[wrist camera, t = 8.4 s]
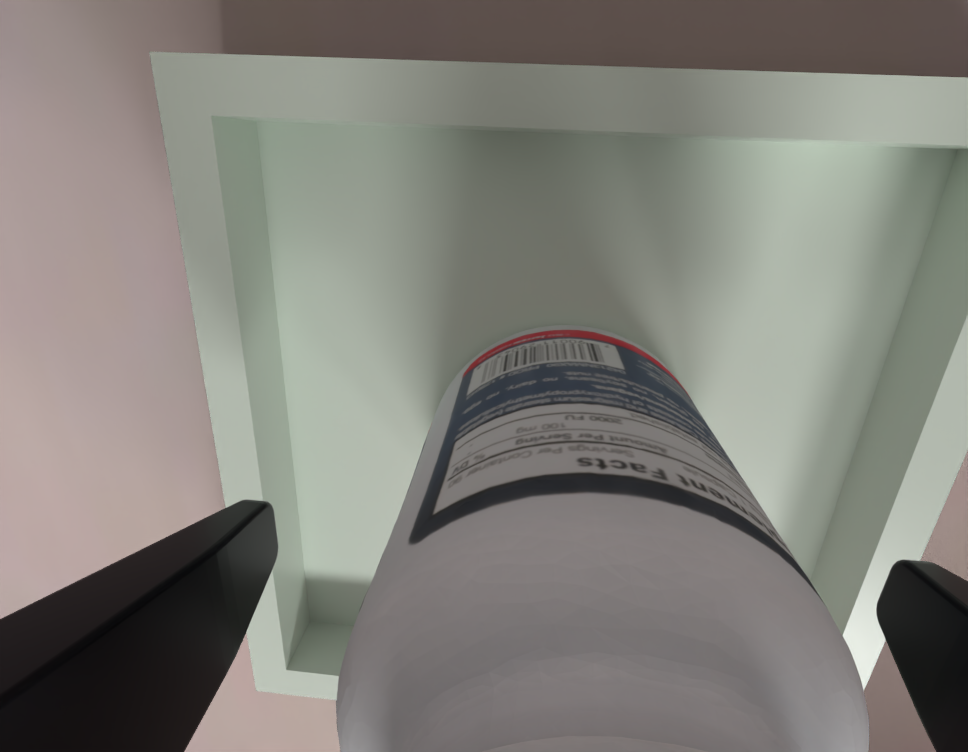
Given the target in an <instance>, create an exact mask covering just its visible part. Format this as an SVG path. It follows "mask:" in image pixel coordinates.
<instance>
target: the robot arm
mask: <svg viewBox="0 0 968 752" xmlns="http://www.w3.org/2000/svg"><path fill="white" fill-rule="evenodd" d="M277 555H278V539H277V531H276V523H275V515H274V509H273V506H272V504H270V503H269V502H267V501H259V500H248V499H245V500H241V501H239V502H237V503H235V504H233V505H231V506H229V507H227V508H225V509H223V510H221V511H219V512H217V513H215V514H213V515H210V516H208V517H206V518H204V519H202V520H200V521H198V522H196V523H194V524H192V525H190V526H188V527H186V528H184V529H182V530H180V531H178V532H176V533H174V534H172V535H170V536H168V537H166V538H164V539H162V540H160V541H158V542H156V543H154V544H152V545H150V546H148V547H146V548H144V549H142V550H140V551H137V552H135V553H133V554H131V555H129V556H127V557H125V558H123V559H121V560H119V561H117V562H115V563H113V564H111V565H109V566H107V567H105V568H103V569H101V570H99V571H97V572H95V573H93V574H91V575H89V576H87V577H85V578H83V579H81V580H79V581H77V582H75V583H73V584H71V585H69V586H67V587H64V588H62V589H60V590H58V591H56V592H54V593H52V594H50V595H48V596H46V597H44V598H42V599H40V600H38V601H36V602H34V603H32V604H30V605H28V606H26V607H24V608H22V609H20V610H18V611H16V612H14V613H12V614H10V615H8V616H6V617H4V618H2V619H0V752H184V751H185V749H186V748H187V746H188V744H189V742H190V740H191V738H192V737H193V735H194V733H195V731H196V729H197V727H198V725H199V724H200V722H201V720H202V718H203V716H204V714H205V713H206V711H207V709H208V707H209V705H210V703H211V702H212V700H213V698H214V696H215V694H216V692H217V691H218V689H219V687H220V685H221V683H222V681H223V680H224V678H225V676H226V674H227V672H228V670H229V668H230V666H231V664H232V662H233V660H234V659H235V657H236V654H237V652H238V650H239V648H240V645H241V643H242V641H243V639H244V636H245V634H246V632H247V629H248V627H249V624H250V622H251V620H252V617H253V615H254V612H255V610H256V608H257V605H258V603H259V600H260V598H261V596H262V593H263V591H264V588H265V586H266V584H267V581H268V579H269V577H270V574H271V572H272V569H273V567H274V565H275V562H276V559H277ZM876 614H877V619H878V622H879V625H880V627H881V630H882V632H883V634H884V637H885V639H886V641H887V644H888V646H889V648H890V651H891V653H892V655H893V657H894V660H895V662H896V664H897V667H898V669H899V671H900V674H901V676H902V678H903V680H904V683H905V685H906V687H907V690H908V692H909V694H910V697H911V699H912V701H913V704H914V706H915V708H916V710H917V713H918V715H919V717H920V719H921V722H922V724H923V726H924V728H925V730H926V732H927V734H928V736H929V738H930V740H931V742H932V744H933V746H934V748H935V750H936V752H968V581H966V580H964V579H962V578H961V577H959V576H957V575H955V574H953V573H951V572H950V571H948V570H946V569H944V568H942V567H940V566H939V565H937V564H934V563H931V562H926V561H916V560H899V561H897V562H896V563H894V564H893V566H892V567H891V570H890V572H889V575H888V577H887V579H886V582H885V584H884V587H883V589H882V592H881V594H880V597H879V599H878V602H877V607H876Z"/></svg>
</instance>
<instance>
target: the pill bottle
mask: <svg viewBox="0 0 968 752" xmlns="http://www.w3.org/2000/svg"><path fill="white" fill-rule="evenodd" d="M336 714H337V730H338V737H339V744H340V750H341V752H868V751H869V717H868V711H867V706H866V701H865V696H864V690H863V686H862V682H861V679H860V676H859V673H858V670H857V667H856V664H855V661H854V659H853V656H852V654H851V651H850V649H849V647H848V645H847V643H846V641H845V639H844V638H843V636H842V634H841V632H840V630H839V629H838V627H837V625H836V623H835V622H834V620H833V618H832V616H831V614H830V612H829V611H828V609H827V607H826V605H825V604H824V602H823V601H822V599H821V598H820V596H819V594H818V593H817V591H816V590H815V588H814V586H813V585H812V583H811V582H810V580H809V579H808V577H807V575H806V574H805V572H804V571H803V570H802V568H801V567H800V565H799V564H798V562H797V561H796V559H795V558H794V556H793V555H792V553H791V552H790V550H789V548H788V546H787V545H786V543H785V542H784V541H783V539H782V538H781V536H780V535H779V534H778V532H777V531H776V529H775V528H774V526H773V524H772V523H771V521H770V520H769V518H768V517H767V515H766V513H765V512H764V510H763V509H762V507H761V506H760V504H759V503H758V501H757V500H756V498H755V497H754V495H753V493H752V492H751V490H750V489H749V487H748V486H747V484H746V483H745V481H744V480H743V478H742V477H741V475H740V474H739V472H738V471H737V469H736V468H735V466H734V464H733V463H732V461H731V460H730V458H729V457H728V455H727V454H726V452H725V451H724V449H723V448H722V446H721V445H720V443H719V442H718V440H717V439H716V437H715V435H714V434H713V432H712V431H711V430H710V428H709V426H708V425H707V423H706V422H705V420H704V419H703V417H702V415H701V414H700V412H699V411H698V409H697V408H696V406H695V404H694V403H693V401H692V400H691V398H690V396H689V395H688V393H687V391H686V390H685V389H684V388H683V386H682V385H681V384H680V383H679V381H678V380H677V378H676V377H675V376H674V374H673V373H672V372H671V371H670V370H669V369H668V368H667V367H666V366H665V365H664V364H663V363H662V362H661V361H660V360H659V359H657V358H656V357H655V356H654V355H653V354H651V353H650V352H649V351H647V350H646V349H644V348H643V347H641V346H640V345H638V344H636V343H634V342H633V341H631V340H629V339H626V338H624V337H622V336H619V335H617V334H614V333H612V332H608V331H605V330H601V329H597V328H592V327H586V326H575V325H554V326H544V327H539V328H534V329H529V330H525V331H522V332H519V333H516V334H513V335H511V336H508V337H506V338H504V339H501V340H500V341H498V342H496V343H494V344H493V345H491V346H489V347H488V348H486V349H485V350H483V351H482V352H481V353H479V354H478V355H477V356H475V357H474V358H473V359H472V360H471V361H470V362H469V363H468V364H466V366H465V367H464V368H463V369H462V370H461V371H460V372H459V373H458V374H457V376H456V377H455V378H454V379H453V381H452V382H451V383H450V385H449V387H448V388H447V390H446V392H445V394H444V395H443V397H442V399H441V402H440V404H439V406H438V408H437V410H436V413H435V416H434V419H433V421H432V424H431V427H430V429H429V431H428V434H427V437H426V440H425V443H424V445H423V448H422V451H421V454H420V457H419V460H418V463H417V466H416V469H415V472H414V475H413V477H412V480H411V483H410V486H409V489H408V491H407V494H406V497H405V500H404V502H403V505H402V508H401V510H400V513H399V516H398V518H397V520H396V523H395V525H394V528H393V530H392V533H391V536H390V538H389V541H388V543H387V545H386V548H385V550H384V552H383V554H382V557H381V559H380V562H379V565H378V567H377V570H376V572H375V575H374V577H373V580H372V582H371V584H370V587H369V589H368V591H367V593H366V595H365V597H364V600H363V602H362V605H361V608H360V611H359V614H358V616H357V619H356V622H355V624H354V627H353V630H352V633H351V635H350V638H349V641H348V645H347V648H346V651H345V655H344V658H343V661H342V666H341V670H340V675H339V680H338V690H337V700H336Z"/></svg>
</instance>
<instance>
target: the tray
mask: <svg viewBox="0 0 968 752" xmlns="http://www.w3.org/2000/svg"><path fill="white" fill-rule="evenodd" d="M149 53H150V59H151V65H152V71H153V77H154V83H155V89H156V95H157V101H158V107H159V113H160V119H161V125H162V131H163V137H164V143H165V149H166V155H167V161H168V167H169V173H170V179H171V185H172V191H173V197H174V203H175V209H176V215H177V221H178V227H179V233H180V239H181V244H182V250H183V256H184V262H185V268H186V274H187V280H188V286H189V292H190V298H191V304H192V310H193V316H194V322H195V328H196V334H197V340H198V346H199V352H200V358H201V364H202V370H203V376H204V382H205V388H206V394H207V400H208V406H209V412H210V418H211V424H212V430H213V436H214V442H215V448H216V453H217V459H218V465H219V471H220V477H221V483H222V489H223V495H224V501H225V507H226V508H227V507H229V506H231V505H233V504H235V503H237V502H239V501H241V500H245V499H248V500H259V501H267V502H269V503H270V504H272V506H273V509H274V515H275V523H276V531H277V539H278V555H277V559H276V562H275V565H274V567H273V569H272V572H271V574H270V577H269V579H268V581H267V584H266V586H265V588H264V591H263V593H262V596H261V598H260V600H259V603H258V605H257V608H256V610H255V612H254V615H253V617H252V620H251V622H250V624H249V627H248V629H247V632H246V633H247V639H248V645H249V651H250V657H251V663H252V668H253V674H254V680H255V686H256V691H261V692H270V693H278V694H287V695H295V696H304V697H313V698H321V699H330V700H337V690H338V680H339V675H340V670H341V666H342V661H343V658H344V655H345V651H346V648H347V645H348V641H349V638H350V635H351V633H352V630H353V627H354V624H355V622H356V619H357V616H358V614H359V611H360V608H361V605H362V602H363V600H364V597H365V595H366V593H367V591H368V589H369V587H370V584H371V582H372V580H373V577H374V575H375V572H376V570H377V567H378V565H379V562H380V559H381V557H382V554H383V552H384V550H385V548H386V545H387V543H388V541H389V538H390V536H391V533H392V530H393V528H394V525H395V523H396V520H397V518H398V516H399V513H400V510H401V508H402V505H403V502H404V500H405V497H406V494H407V491H408V489H409V486H410V483H411V480H412V477H413V475H414V472H415V469H416V466H417V463H418V460H419V457H420V454H421V451H422V448H423V445H424V443H425V440H426V437H427V434H428V431H429V429H430V427H431V424H432V421H433V419H434V416H435V413H436V410H437V408H438V406H439V404H440V402H441V399H442V397H443V395H444V394H445V392H446V390H447V388H448V387H449V385H450V383H451V382H452V381H453V379H454V378H455V377H456V376H457V374H458V373H459V372H460V371H461V370H462V369H463V368H464V367H465V366H466V364H468V363H469V362H470V361H471V360H472V359H473V358H474V357H475V356H477V355H478V354H479V353H481V352H482V351H483V350H485V349H486V348H488V347H489V346H491V345H493V344H494V343H496V342H498V341H500V340H501V339H504V338H506V337H508V336H511V335H513V334H516V333H519V332H522V331H525V330H529V329H534V328H539V327H544V326H554V325H575V326H586V327H592V328H597V329H601V330H605V331H608V332H612V333H614V334H617V335H619V336H622V337H624V338H626V339H629V340H631V341H633V342H634V343H636V344H638V345H640V346H641V347H643V348H644V349H646V350H647V351H649V352H650V353H651V354H653V355H654V356H655V357H656V358H657V359H659V360H660V361H661V362H662V363H663V364H664V365H665V366H666V367H667V368H668V369H669V370H670V371H671V372H672V373H673V374H674V376H675V377H676V378H677V380H678V381H679V383H680V384H681V385H682V386H683V388H684V389H685V390H686V391H687V393H688V395H689V396H690V398H691V400H692V401H693V403H694V404H695V406H696V408H697V409H698V411H699V412H700V414H701V415H702V417H703V419H704V420H705V422H706V423H707V425H708V426H709V428H710V430H711V431H712V432H713V434H714V435H715V437H716V439H717V440H718V442H719V443H720V445H721V446H722V448H723V449H724V451H725V452H726V454H727V455H728V457H729V458H730V460H731V461H732V463H733V464H734V466H735V468H736V469H737V471H738V472H739V474H740V475H741V477H742V478H743V480H744V481H745V483H746V484H747V486H748V487H749V489H750V490H751V492H752V493H753V495H754V497H755V498H756V500H757V501H758V503H759V504H760V506H761V507H762V509H763V510H764V512H765V513H766V515H767V517H768V518H769V520H770V521H771V523H772V524H773V526H774V528H775V529H776V531H777V532H778V534H779V535H780V536H781V538H782V539H783V541H784V542H785V543H786V545H787V546H788V548H789V550H790V552H791V553H792V555H793V556H794V558H795V559H796V561H797V562H798V564H799V565H800V567H801V568H802V570H803V571H804V572H805V574H806V575H807V577H808V579H809V580H810V582H811V583H812V585H813V586H814V588H815V590H816V591H817V593H818V594H819V596H820V598H821V599H822V601H823V602H824V604H825V605H826V607H827V609H828V611H829V612H830V614H831V616H832V618H833V620H834V622H835V623H836V625H837V627H838V629H839V630H840V632H841V634H842V636H843V638H844V639H845V641H846V643H847V645H848V647H849V649H850V651H851V654H852V656H853V659H854V661H855V664H856V667H857V670H858V673H859V676H860V679H861V682H862V686H863V690H864V689H865V687H866V685H867V682H868V680H869V678H870V675H871V673H872V671H873V668H874V666H875V664H876V661H877V659H878V657H879V655H880V652H881V650H882V648H883V645H884V643H885V641H886V639H885V637H884V634H883V632H882V630H881V627H880V625H879V622H878V619H877V614H876V607H877V602H878V599H879V597H880V594H881V592H882V589H883V587H884V584H885V582H886V579H887V577H888V575H889V572H890V570H891V567H892V566H893V564H894V563H896V562H897V561H899V560H916V561H920V560H921V557H922V555H923V553H924V550H925V548H926V546H927V543H928V541H929V539H930V536H931V534H932V532H933V529H934V527H935V525H936V522H937V520H938V518H939V516H940V513H941V511H942V509H943V506H944V504H945V502H946V499H947V497H948V495H949V492H950V490H951V488H952V485H953V483H954V481H955V478H956V476H957V474H958V471H959V469H960V467H961V465H962V462H963V460H964V458H965V455H966V453H967V451H968V78H965V77H933V76H902V75H870V74H839V73H807V72H776V71H744V70H713V69H681V68H650V67H618V66H587V65H555V64H524V63H492V62H461V61H429V60H397V59H366V58H334V57H303V56H271V55H240V54H208V53H177V52H149Z"/></svg>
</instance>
